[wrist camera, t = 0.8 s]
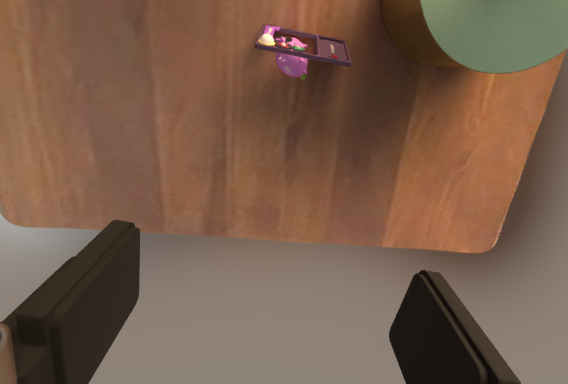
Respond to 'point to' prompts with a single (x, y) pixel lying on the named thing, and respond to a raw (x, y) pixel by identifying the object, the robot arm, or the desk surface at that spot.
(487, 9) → the tin lid
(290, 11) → the desk surface
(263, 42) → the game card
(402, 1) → the tin
